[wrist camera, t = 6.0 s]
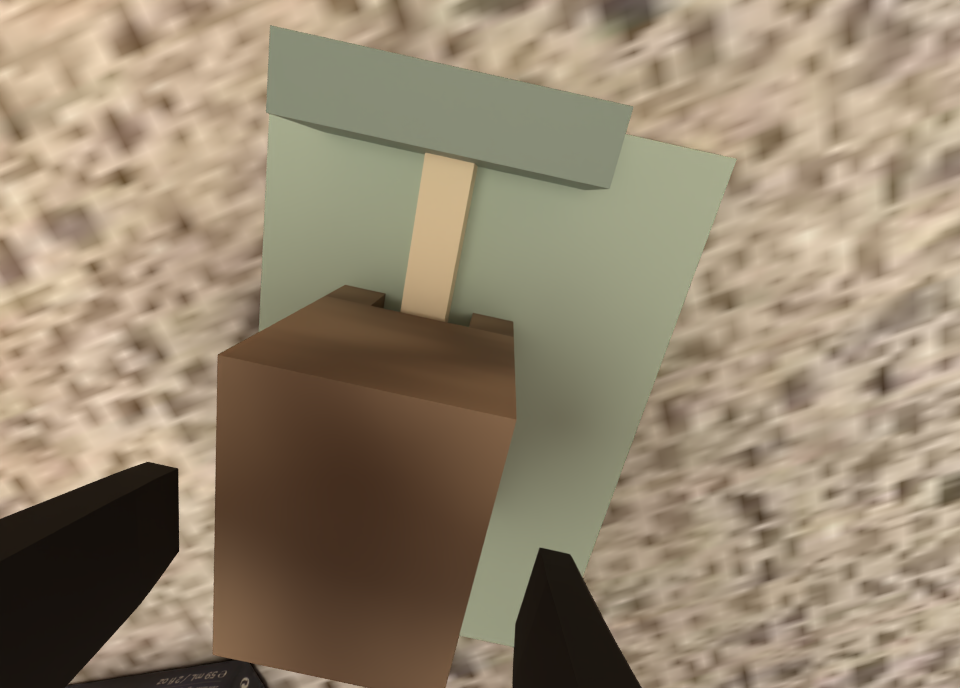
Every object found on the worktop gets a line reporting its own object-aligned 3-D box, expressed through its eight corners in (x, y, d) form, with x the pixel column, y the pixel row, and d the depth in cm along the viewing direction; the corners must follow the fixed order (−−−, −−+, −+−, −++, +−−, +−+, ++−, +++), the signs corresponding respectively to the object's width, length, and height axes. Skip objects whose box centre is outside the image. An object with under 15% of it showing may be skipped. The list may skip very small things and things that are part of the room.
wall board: (719, 161, 12) (813, 146, 8) (551, 631, 18) (562, 747, 14) (290, 65, 12) (191, 7, 8) (260, 569, 18) (193, 669, 14)
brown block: (513, 321, 13) (516, 420, 7) (466, 513, 15) (441, 703, 10) (345, 284, 13) (217, 354, 7) (323, 483, 15) (212, 654, 10)
